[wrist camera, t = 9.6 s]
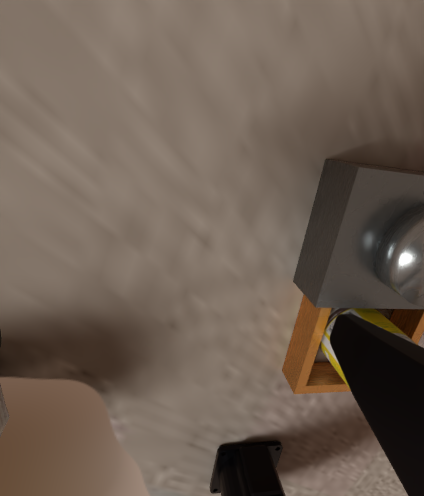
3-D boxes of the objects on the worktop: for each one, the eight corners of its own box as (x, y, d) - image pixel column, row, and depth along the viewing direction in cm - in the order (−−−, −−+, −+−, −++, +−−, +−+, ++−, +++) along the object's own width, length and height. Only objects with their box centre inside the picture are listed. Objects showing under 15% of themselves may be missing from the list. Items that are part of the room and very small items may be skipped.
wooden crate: (387, 366, 29) (436, 419, 24) (269, 370, 26) (296, 430, 21) (472, 178, 22) (564, 196, 17) (325, 158, 20) (384, 173, 15)
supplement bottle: (360, 351, 28) (466, 471, 18) (305, 350, 26) (388, 479, 17) (384, 298, 25) (516, 403, 16) (325, 295, 24) (432, 406, 15)
